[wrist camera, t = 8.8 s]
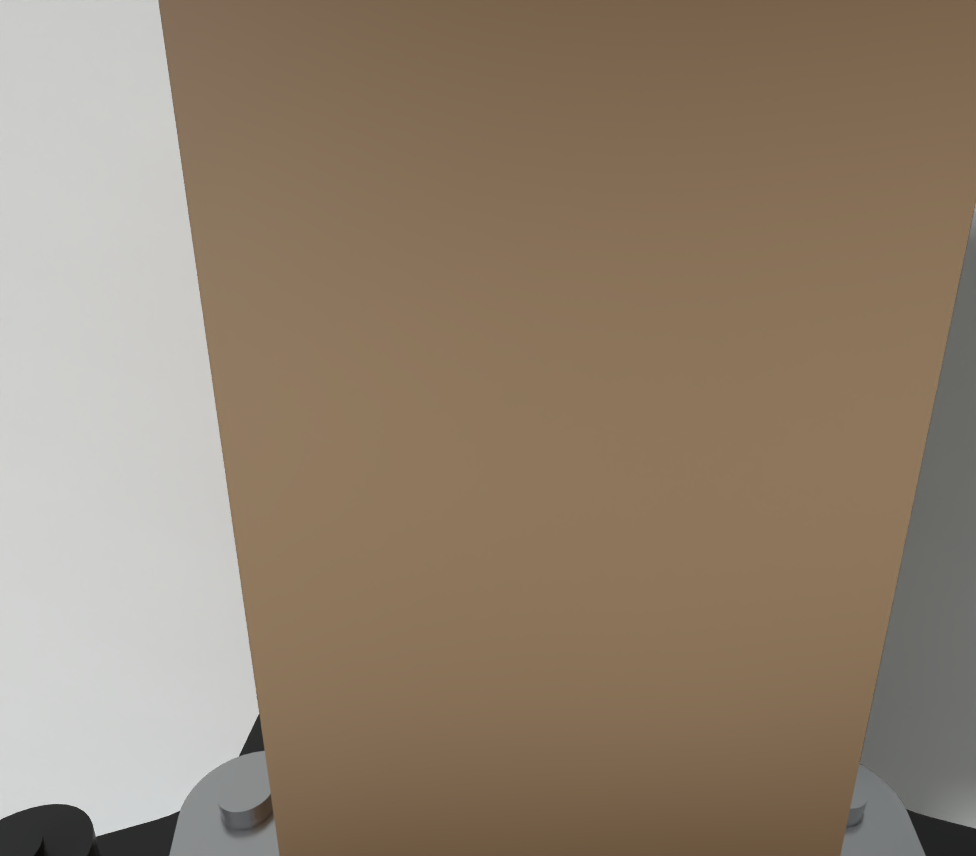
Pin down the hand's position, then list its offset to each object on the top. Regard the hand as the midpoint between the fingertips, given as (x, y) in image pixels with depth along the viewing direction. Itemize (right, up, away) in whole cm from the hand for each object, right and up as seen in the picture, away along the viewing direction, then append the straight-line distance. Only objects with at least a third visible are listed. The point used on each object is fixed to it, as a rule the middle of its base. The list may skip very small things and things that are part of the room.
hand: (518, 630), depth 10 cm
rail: (0, 0, 0) cm, 1 cm away
